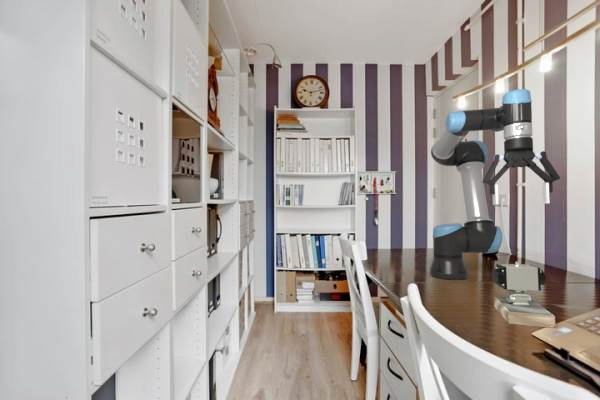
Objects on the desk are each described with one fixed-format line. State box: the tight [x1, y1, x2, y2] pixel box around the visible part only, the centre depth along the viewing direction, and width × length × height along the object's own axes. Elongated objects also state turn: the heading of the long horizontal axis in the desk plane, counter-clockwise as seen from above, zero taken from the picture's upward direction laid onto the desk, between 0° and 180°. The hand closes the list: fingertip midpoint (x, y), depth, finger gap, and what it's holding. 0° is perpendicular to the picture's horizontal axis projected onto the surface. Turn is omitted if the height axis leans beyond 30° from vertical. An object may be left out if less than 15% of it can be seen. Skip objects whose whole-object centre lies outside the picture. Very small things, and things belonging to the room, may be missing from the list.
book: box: [493, 296, 556, 328], centre depth 83 cm, size 14×10×3 cm
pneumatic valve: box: [491, 261, 547, 306], centre depth 84 cm, size 6×12×12 cm, turn 78°
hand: (520, 204), depth 95 cm, fingers open, 13 cm apart
